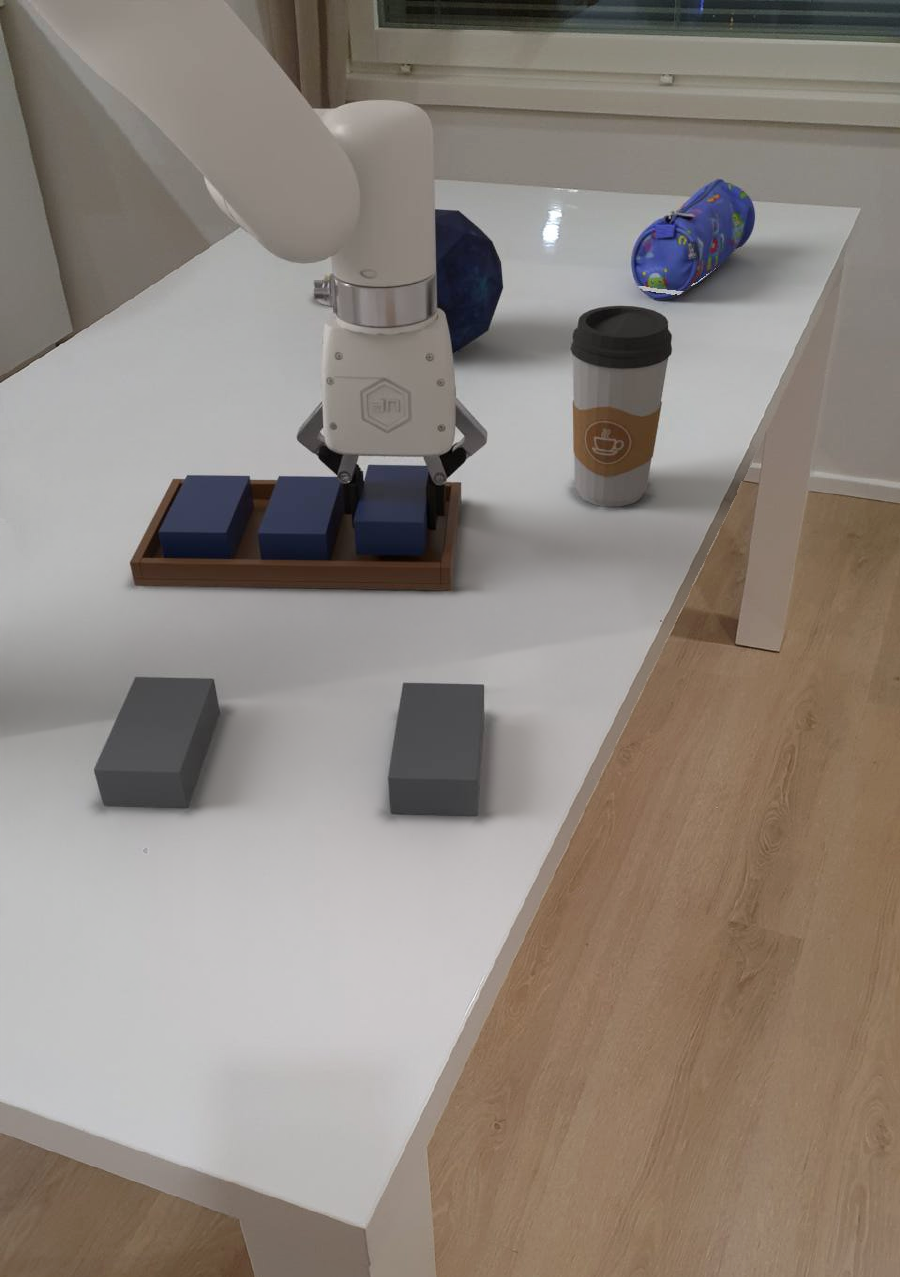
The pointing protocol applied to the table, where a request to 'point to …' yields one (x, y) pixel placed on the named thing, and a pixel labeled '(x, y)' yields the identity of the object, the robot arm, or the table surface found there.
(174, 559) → the book tray
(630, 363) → the coffee cup
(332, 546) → the navy book
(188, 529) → the navy book
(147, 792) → the grey book
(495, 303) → the decorative orb
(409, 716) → the grey book
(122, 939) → the table surface
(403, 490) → the navy book
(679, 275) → the pencil case
